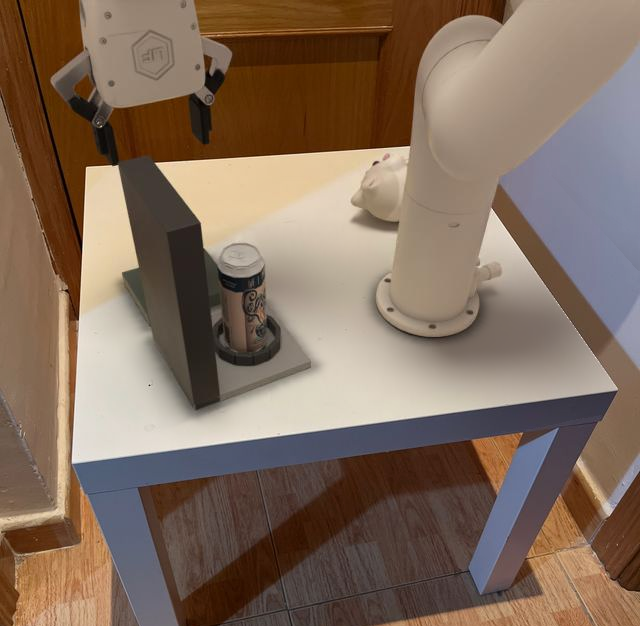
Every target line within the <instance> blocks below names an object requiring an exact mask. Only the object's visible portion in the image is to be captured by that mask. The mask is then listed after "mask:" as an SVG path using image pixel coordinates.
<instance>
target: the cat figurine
mask: <svg viewBox="0 0 640 626" xmlns="http://www.w3.org/2000/svg"><path fill="white" fill-rule="evenodd" d="M408 160H409V158H407V159H405V157H403V155H402V154H398V153H397V154H392V155H391V153H390V152H387V153H385V155H384V156H383V157H382V159H381V160H380V161H379V160H374V161H373V162H372V165H371V166H370V168H369V169H368V170H367V171H365V174H364V175H363V178H362V180H361V183H360V187H359V189H358V190H357V191H356V192H355V193H353V195H352V196H351V198H350V203H351V205H352V206H353V207H355V208H358V209H363V210H366V211H368V212H369V213H370V214H371V215H373V216H374V217H375V218H377V219H379V220H382V221H384V222H392V223H395V222H399V220H400V213H401V206H402V199H403V192H404V185H405V181H406V174H407V167H408Z"/></svg>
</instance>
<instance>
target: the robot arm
mask: <svg viewBox="0 0 640 626" xmlns="http://www.w3.org/2000/svg"><path fill="white" fill-rule="evenodd" d="M509 2H510V6H511V10H512V12H513V13H512V15H511V16H510V17H509V18H508V20H506V22H505V23H504V24H502V23H500V22H499V21H498V20H496V19H493V18H491V17H489V16H485V15H478V14H470V15H464V16H461V17H458V18H455V19H454V20H450V21H449V22H448V23H446V24H445V25H443V26H442V27H441V28H440V29H439V30H438V31H437V32H436V33H435V34H434V35H433V37H432V38H431V40H429V42H428V44H427V45H426V47H425V49H424V51H423V53H422V56H421V58H420V61H419V65H418V68H417V74H416V80H415V87H414V88H415V89H414V100H413V112H412V125H411V135H410V143H409V153H408V159H409V160H408V167H407V174H406V181H405V185H404V192H403V199H402V206H401V213H400V220H399V221H398V228H397V235H396V243H395V247H394V248H395V249H394V257H393V262H392V269H391V271H390V272H388V274H386V275H384V277H383V278H382V279H380V281H379V283H378V285H377V288H376V294H375V303H376V307H377V310H378V311H379V313H380V314H381V316H382V317H383V318H384V320H386V321H387V322H389V324H391V325H392V326H394V327H395V328H396V329H398V330H401V331H403V332H405V333H408V334H412V335H415V336H421V337H427V338H440V337H448V336H452V335H455V334H458V333H461V332H462V331H464V330H466V329H468V328H469V327H470V326H472V324H473V323H474V321H475V320H476V319H477V315H478V313H479V309H480V297H479V295H478V292H477V288H478V287H480V286H482V285H483V283H484V282H486V281H491V280H494V279H496V278H500V276H502V274H503V269H502V266H501V264H500V263H499V261H492V262H490V263H488V264H485V265H482V266H481V267H479V266H480V265H481V259H480V253H481V249H482V246H483V241H484V237H485V234H486V230H487V226H488V221H489V218H490V213H491V210H492V206H493V203H494V199H495V196H496V193H497V188H498V186H499V180H500V178H501V177H503V176H505V175H506V174H508V173H510V172H512V171H513V170H515V169H516V168H517V167H519V166H521V165H522V164H523V163H524V162H525V161H527V160H528V159H529V158H530V157H531V156H532V155H533V154H534V153H536V152H537V151H538V150H539V149H540V148H542V146H543V145H544V144H545V143H547V141H549V139H551V138H552V137H553V136H554V135H555V134H556V133H557V132H558V131H559V130H560V129H561V128H562V127H563V126H564V125H565V124H566V123H567V122H568V121H569V120H570V119H571V118H572V117H573V116H575V114H576V113H578V111H579V110H581V109H582V107H584V105H586V103H588V102H589V101H590V100H591V99H592V97H594V96H595V95H596V94H597V93H598V92H599V91H600V90H601V89H602V88H603V87H604V86H605V85H606V84H607V83H608V82H609V81H610V80H611V79H612V78H613V77H614V76H615V75H616V74H617V73H618V72H619V71H620V69H622V67H623V66H624V65H625V64H626V63H627V61H628V60H629V59H630V57H631V56H632V55H633V53H634V51H635V50H636V49H637V47H638V46H639V44H640V0H509ZM78 5H79V17H80V30H81V38H82V45H83V51H81V52H80V53H79V54H78V55H76V56H75V57H74V58H72V59H71V60H70V61H69V62H68V63H66V64H65V65H64V66H62V68H60V69H59V70H58V71H57V72H56V73H54V74H53V75H52V76H51V77H50V84H51V85H52V87H53V88H54V90H55V91H56V92H57V93H58V94H59V95H60V97H61V98H62V99H63V100H64V102H65V103H66V104H67V106H69V107H70V109H71V110H72V111H73V112H74V113H76V114H77V115H78V116H80V117H82V118H83V119H85V120H86V121H87V122H89V123H90V124H91V129H92V133H93V138H94V142H95V147H96V150H97V152H98V154H99V156H101V157H102V156H104V157H105V158H106V159H107V161H108V162H109V163H110V165H111V166H112V167H116V166H118V162H120V159H119V154H118V148H117V143H116V138H115V133H114V128H113V126H112V125H111V123H110V122H109V118H110V117H111V115H112V113H113V111H114V109H116V108H117V109H123V108H125V109H126V108H130V107H136V106H141V105H146V104H152V103H156V102H162V101H166V100H170V99H176V98H180V97H186V96H188V95H189V97H188V99H187V100H188V109H189V121H190V129H191V133H192V135H193V136H194V137H195V138H196V139H197V140H198V142H199V143H201V144H202V145H203V146H208V145H210V143H211V141H210V132H212V130H213V124H212V112H211V111H212V110H211V105H212V104H213V103H214V102H215V95H216V94H217V92H218V91H219V89H220V88H221V87H222V85H223V84H224V82H225V80H226V73H227V72H228V69H229V66H230V63H231V61H232V58H233V52H232V50H230V49H229V47H228V46H226V45H225V44H223V43H220V42H218V41H215V40H212V39H210V38H208V37H205V36H203V35H201V32H200V26H199V21H198V16H197V10H196V5H195V1H194V0H78ZM204 55H205V56H207V57H210V58H212V59H211V62H210V63H211V65H210V66H209V67H207V69H206V68H205V67H206V66H205V58H204ZM87 76H88V79H89V81H90V83H91V86H92V87H93V89H92V91H91V93H90V94H89V96H88V98H87V100H86V98H84V97H82V96H81V95H80V94H78V93H77V92H76V90H75V86H76V85H77V84H78V83H79V82H81V81H82V80H83V79H84V78H86V77H87Z"/></svg>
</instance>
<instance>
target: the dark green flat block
mask: <svg viewBox="0 0 640 626" xmlns="http://www.w3.org/2000/svg"><path fill="white" fill-rule="evenodd" d="M204 255H205V264H206V273H207V282H208V291H209V300H210V308H212V307H215V306H218V305H221V299H220V289H219V279H218V269H217V262H216V261H215V260H214V259H213V257H212V256H211V255H210V253H209V252H208V250H207V249H206V248H204ZM121 276H122V280H123V284H124V286H125V287H126V290H127V291H128V292H129V295H130V296H131V297H132V299H133V301H134V303H135V304H136V306H137V308H138V309H139V311H140V312H141V314H142V316H143V318H144V320H145V321H146V323H147V324H148V327H150V328H151V325H150V320H149V315H148V310H147V305H146V300H145V295H144V290H143V285H142V281H141V276H140V271H139V267H136V268H131V269H129V270H125V271H122V272H121Z"/></svg>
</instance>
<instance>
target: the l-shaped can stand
mask: <svg viewBox="0 0 640 626" xmlns="http://www.w3.org/2000/svg"><path fill="white" fill-rule="evenodd" d="M117 167H118V173H119V177H120V182H121V186H122V192H123V196H124V201H125V205H126V212H127V216H128V221H129V226H130V230H131V236H132V241H133V245H134V251H135V255H136V260H137V266H138V268H139V271H140V276H141V281H142V285H143V290H144V295H145V300H146V305H147V310H148V315H149V320H150V325H151V327H150V329H151V335H152V340H153V342H154V344H155V346H156V347H157V349H158V351H159V353H160V354H161V356H162V358H163V359H164V361H165V363H166V364H167V366H168V368H169V369H170V371H171V373H172V374H173V376H174V378H175V379H176V381H177V383H178V384H179V386H180V388H181V390H182V392H183V393H184V395H185V396H186V398H187V400H188V401H189V403H190V405H191V407H192V408H193V410H194V411H195V412H196V411H198V410H201V409H204V408H207V407H209V406H211V405H214V404H216V403H219V402H222V401H225V400H227V399H230V398H232V397H236V396H238V395H240V394H243V393H246V392H248V391H251V390H254V389H256V388H259V387H262V386H265V385H268V384H269V383H272V382H275V381H277V380H280V379H283V378H286V377H289V376H291V375H295V374H296V373H300V372H301V371H304V370H307V369H309V368H312V360H311V359H310V358H309V356H308V355H307V354H306V352H305V351H304V350H303V348H301V347H302V346H300V345H299V344H298V342H297V341H296V340H295V338H294V337H293V335H291V333H290V332H289V331H288V329H287V328H286V327H285V325H284V324H283V323H282V322H281V320H280V319H279V318H278V316H277V315H276V314H275V313H274V311H273V310H272V309H271V307H270V306H269V304H268V303H266V317H267V342H266V344H265V346H264V347H263V348H262V349H260V350H259V351H256V352H253V353H241V352H234V351H232V350H230V349H229V348H228V347H227V345H226V344H225V340H224V330H223V320H222V311H221V312H218V313H216V314H213V315H212V311H211V307H210V300H209V291H208V282H207V273H206V264H205V255H204V247H205V246H204V239H203V230H202V222H201V221H200V219H199V218H198V217H197V216H196V214H195V213H194V212H193V210H192V209H191V208H190V207H189V205H188V204H187V203H186V201H185V200H184V199H183V197H182V196H181V195H180V194H179V192H178V191H177V190H176V189H175V187H174V186H173V184H172V183H171V182H170V180H169V179H168V177H166V176H165V174H164V173H163V171H162V170H161V169H160V168H159V166H158V165H157V164H156V163H155V161H154V160H153V159H152V157H151V156H150V155H149V154H148V155H144V156H143V155H142V156H139V157H136V158H131V159H126V160H123V161H119V162H118V165H117Z"/></svg>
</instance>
